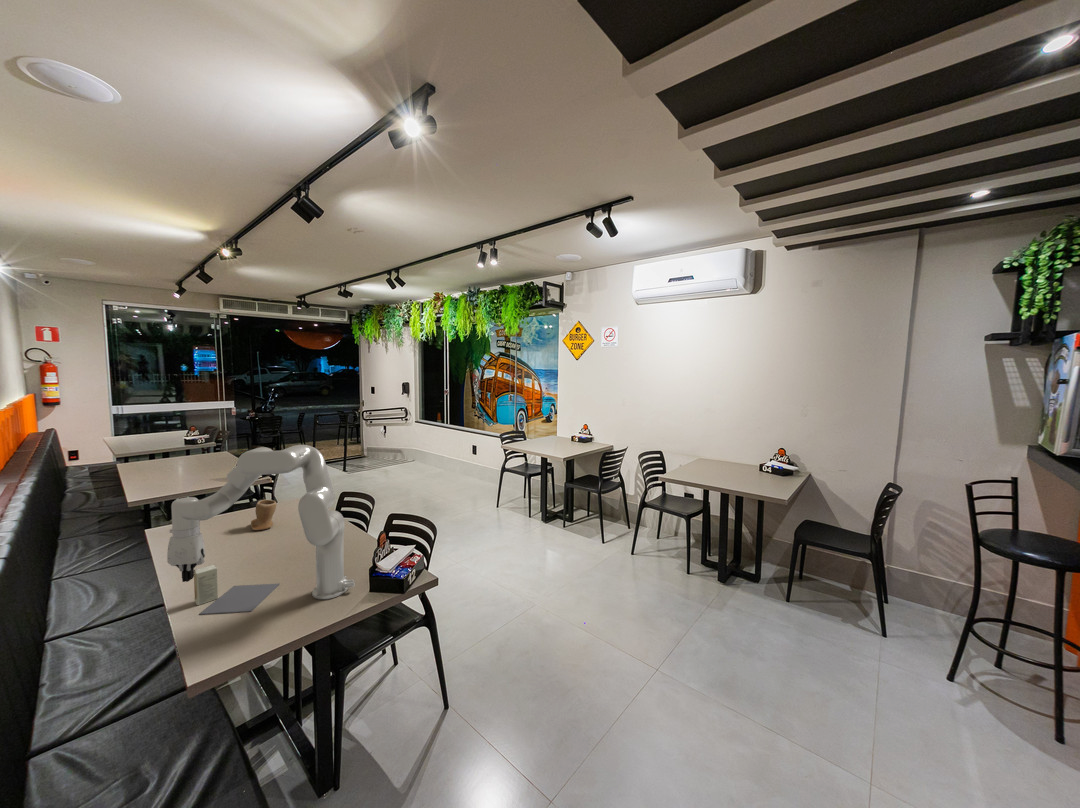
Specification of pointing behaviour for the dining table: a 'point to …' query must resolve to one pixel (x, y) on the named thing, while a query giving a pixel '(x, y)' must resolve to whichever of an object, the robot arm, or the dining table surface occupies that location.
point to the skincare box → (205, 584)
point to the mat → (240, 599)
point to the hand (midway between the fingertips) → (188, 579)
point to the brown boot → (264, 515)
